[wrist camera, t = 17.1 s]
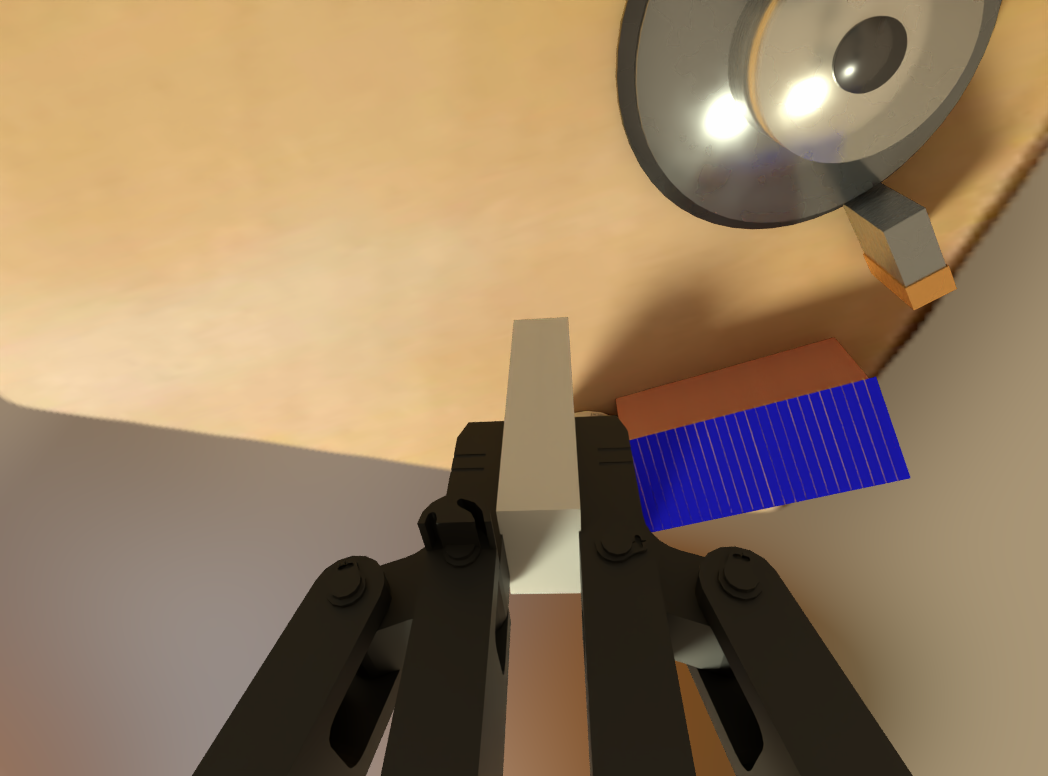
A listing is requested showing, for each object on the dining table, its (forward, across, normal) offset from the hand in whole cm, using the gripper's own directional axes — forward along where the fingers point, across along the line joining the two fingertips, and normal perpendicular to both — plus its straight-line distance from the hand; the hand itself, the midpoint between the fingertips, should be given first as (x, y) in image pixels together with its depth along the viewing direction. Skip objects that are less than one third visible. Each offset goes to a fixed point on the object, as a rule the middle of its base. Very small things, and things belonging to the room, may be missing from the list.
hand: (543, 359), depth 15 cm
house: (+27, +16, -26) cm, 41 cm away
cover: (+25, +16, +4) cm, 30 cm away
